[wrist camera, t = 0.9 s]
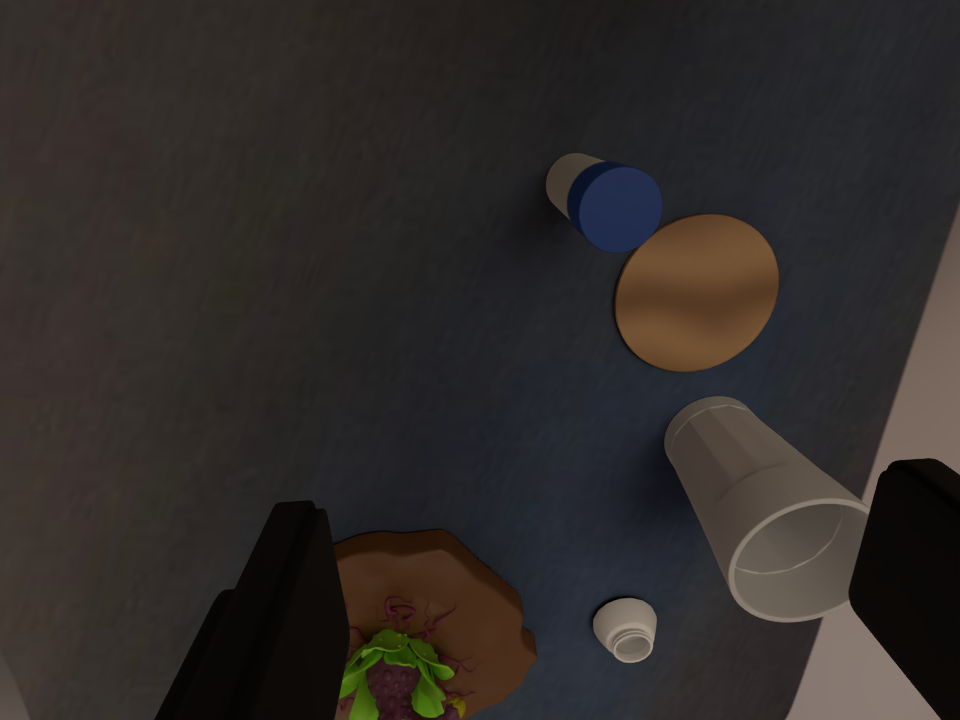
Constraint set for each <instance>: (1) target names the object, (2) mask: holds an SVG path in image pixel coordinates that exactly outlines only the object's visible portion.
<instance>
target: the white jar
mask: <svg viewBox="0 0 960 720" xmlns="http://www.w3.org/2000/svg"><path fill="white" fill-rule="evenodd" d="M656 623H657V617H656V615H655V613H654V611H653V609H652V607H651V606H650V605H649V604H647V603H646V602H644V601H643V600H638V599H634V598H624V599H618V600H615V601H612V602H610V603H607V604H606V605H605V606H603V607H602V608H601V609H600V610H598V612H597V614H596V615H595V617H594V619H593V630H594V633H595V635H596V636H597V638H598V640H599V641H600V642H601V643H602V644H603V645H604V646H605V647H606V648H607V649H608V650H609V651H610V652H612V653H613V654H614V655H615V657H616V658H617V659H619V660H620V661H623V662H628V663H632V662H638V661H641V660H643V659H645V658H646V657H647V656H648V655H649V654H650V653H651V651H652V649H653V644H652V643H653V642H654V637H655V631H656Z"/></svg>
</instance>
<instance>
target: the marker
mask: <svg viewBox="0 0 960 720" xmlns="http://www.w3.org/2000/svg"><path fill="white" fill-rule="evenodd" d="M546 191H547V195H548V197H549V199H550V201H551V202H552V203H553V204H554V205H555V206H556V207H557V208H558V209H559V210H560V211H561V212H562V213H563V214H564V215H565V216H566V217H567V218H568V219H569V220H570V221H571V222H572V224H573V226H574V227H575V228H576V229H577V230H578V231H579V232H580V233H581V234H582V235H583V236H584V237H585V238H586V239H587V240H588V241H589V242H590V243H591V244H592V245H594V246H595V247H596V248H598V249H600V250H603V251H606V252H610V253H622V252H627V251H630V250H633V249H635V248H637V247H639V246H640V245H642V244H643V243H644V242H646V241H647V240H648V239H649V238H650V237H651V235H652V234H653V233H654V231H655V230H656V228H657V226H658V224H659V222H660V219H661V215H662V208H663V202H662V195H661V192H660V189H659V187H658V185H657V184H656V182H655V181H654V179H653V178H652V177H651V176H650V175H648V174H647V173H646V172H644V171H642V170H640V169H637V168H634V167H631V166H627V165H624V164H621V163H617V162H611V161H603V160H600V159H597V158H594V157H591V156H588V155H585V154H580V153H572V154H568V155H565V156H563V157H561V158H560V159H558V160H557V161H556V162H555V163H554V164H553V165H552V167H551V168H550V170H549V172H548V175H547V179H546Z"/></svg>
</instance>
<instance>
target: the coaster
mask: <svg viewBox="0 0 960 720" xmlns="http://www.w3.org/2000/svg"><path fill="white" fill-rule="evenodd" d="M778 287H779V275H778V267H777V263H776V259H775V256H774V254H773V252H772V249H771V247H770V246H769V244H768V243H767V241H766V240H765V239H764V237H763V236H762V235H761V234H760V233H759V232H758V231H757V230H755V229H754V228H753V227H752V226H750V225H748V224H746V223H745V222H743V221H741V220H738V219H735V218H733V217H730V216H726V215H721V214H710V213H708V214H696V215H691V216H686V217H683V218H680V219H677V220H674V221H672V222H670V223H668V224H666V225H664V226H662V227H661V228H659V229H657V230H656V231H654V233H653V234H652V235H651V237H650V238H649V239H648V240H647V241H646V242H644V243H643V244H642V245H640V246H639V247H637V248H636V249H635V250H634V252H633V253H632V254H631V255H630V257H629V259H628V260H627V262H626V263H625V265H624V267H623V269H622V271H621V274H620V276H619V279H618V282H617V286H616V291H615V297H614V311H615V318H616V322H617V326H618V329H619V331H620V333H621V335H622V337H623V339H624V340H625V342H626V344H627V345H628V346H629V347H630V348H631V350H632V351H633V352H634V353H635V354H636V355H637V356H639V357H640V358H641V359H643V360H644V361H646V362H647V363H649V364H651V365H653V366H656V367H659V368H662V369H665V370H670V371H680V372H688V371H697V370H703V369H707V368H710V367H713V366H716V365H718V364H721V363H723V362H725V361H727V360H729V359H730V358H732V357H734V356H735V355H737V354H738V353H740V352H741V351H742V350H743V349H745V348H746V347H747V346H748V345H749V344H750V343H751V342H752V341H753V340H754V339H755V338H756V337H757V336H758V334H759V333H760V332H761V330H762V329H763V328H764V326H765V324H766V323H767V321H768V319H769V318H770V315H771V313H772V311H773V308H774V305H775V302H776V299H777V293H778Z"/></svg>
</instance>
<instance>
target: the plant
mask: <svg viewBox="0 0 960 720" xmlns="http://www.w3.org/2000/svg"><path fill="white" fill-rule="evenodd" d="M333 546H334V551H335V556H336V561H337V566H338V571H339V576H340V581H341V586H342V591H343V596H344V600H345V605H346V610H347V615H348V620H349V626H350V645H349V651H348V656H347V661H346V666H345V671H344V676H343V680H342V685H341V690H340V695H339V700H338V705H337V710H336V715H335V720H464V719H466V718H468V717H470V716H471V715H473V714H474V713H476V712H478V711H480V710H481V709H483V708H485V707H488V706H491V705H494V704H497V703H499V702H501V701H503V700H504V699H505V698H506V696H507V695H508V694H509V693H510V692H512V691H513V690H514V689H516V688H517V687H518V686H519V685H520V684H521V683H522V682H523V680H524V678H525V676H526V673H527V671H528V669H529V668H530V667H531V666H532V664H533V663H534V662H535V661H536V660H537V652H536V645H535V637H534V635H533V634H532V633H531V632H529V631H528V630H526V629H525V628H524V627H523V626H522V623H523V609H522V601H521V598H520V596H519V595H518V593H517V592H516V591H515V590H514V589H513V588H512V587H511V586H509V585H508V584H507V583H505V582H504V581H503V580H502V579H501V578H500V577H499V576H498V575H496V574H495V573H494V572H493V571H492V570H491V569H489V568H488V567H487V566H486V565H484V564H483V563H482V562H481V561H480V560H478V559H477V558H476V557H475V556H474V555H473V554H472V553H471V552H470V551H469V550H468V549H467V548H466V547H465V546H464V545H463V544H461V543H460V542H459V541H458V540H457V539H456V538H454V537H453V536H452V535H451V534H450V533H448V532H447V531H445V530H442V529H436V530H427V531H421V532H412V533H393V532H386V531H379V532H373V533H367V534H362V535H358V536H355V537H352V538H350V539H347V540H345V541H343V542H341V543H338V544H336V545H333Z"/></svg>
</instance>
